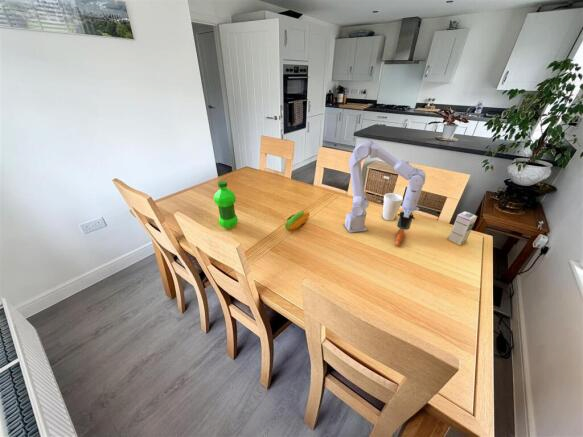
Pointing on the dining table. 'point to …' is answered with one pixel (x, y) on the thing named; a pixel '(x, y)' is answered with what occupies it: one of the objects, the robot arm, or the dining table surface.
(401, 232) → the carrot
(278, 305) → the dining table surface
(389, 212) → the foam cup
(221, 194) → the plastic bottle
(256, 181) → the dining table surface
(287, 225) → the hot dog
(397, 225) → the mug
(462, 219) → the syrup box
